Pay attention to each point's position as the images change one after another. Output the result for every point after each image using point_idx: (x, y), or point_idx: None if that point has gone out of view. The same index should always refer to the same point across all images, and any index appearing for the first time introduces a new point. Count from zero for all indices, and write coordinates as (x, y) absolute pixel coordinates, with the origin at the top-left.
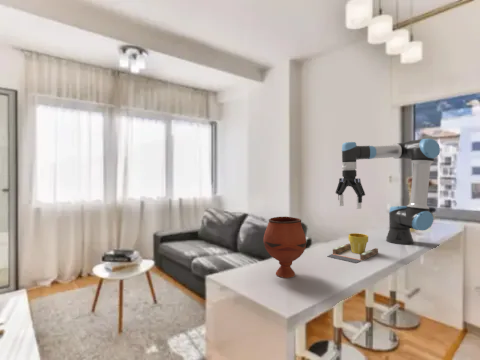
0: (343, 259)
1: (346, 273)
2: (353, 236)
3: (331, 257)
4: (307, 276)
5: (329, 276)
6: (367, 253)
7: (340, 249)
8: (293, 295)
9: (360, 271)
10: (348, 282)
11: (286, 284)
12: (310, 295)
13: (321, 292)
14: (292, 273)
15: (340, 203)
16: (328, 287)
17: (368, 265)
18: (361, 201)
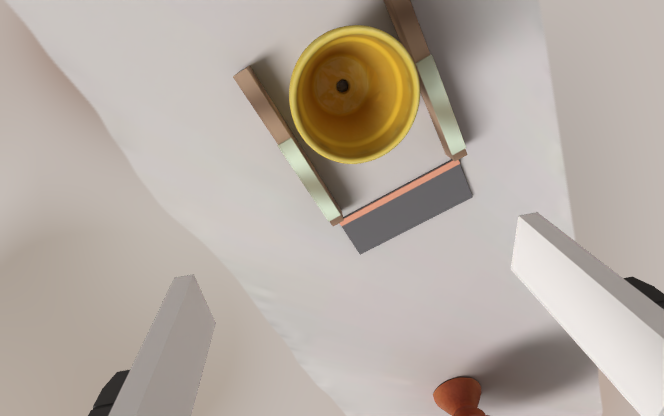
0: (420, 219)
1: None
2: (297, 96)
3: (377, 244)
4: (491, 358)
5: (519, 318)
6: (453, 114)
7: (318, 177)
8: (554, 400)
9: None
10: None
11: (506, 399)
12: (573, 379)
13: (576, 361)
14: (479, 390)
15: (202, 347)
16: (567, 343)
17: (512, 167)
18: (652, 298)
